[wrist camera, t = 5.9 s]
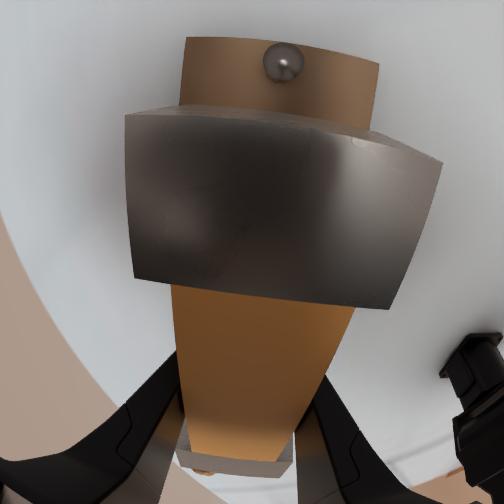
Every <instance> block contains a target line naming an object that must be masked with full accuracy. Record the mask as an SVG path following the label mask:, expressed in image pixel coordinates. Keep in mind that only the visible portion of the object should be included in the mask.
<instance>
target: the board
mask: <svg viewBox="0 0 504 504" xmlns="http://www.w3.org/2000/svg"><path fill="white" fill-rule="evenodd" d="M378 71H379V64H378V63H375V62H372V61H368V60H365V59H361V58H358V57H354V56H350V55H346V54H342V53H338V52H333V51H329V50H324V49H319V48H314V47H309V46H303V45H297V44H291V43H285V42H276V41H268V40H258V39H246V38H229V37H186V43H185V51H184V60H183V69H182V80H181V91H180V103H179V106H181V105H208V106H224V107H236V108H247V109H256V110H264V111H272V112H280V113H287V114H293V115H299V116H305V117H311V118H316V119H322V120H327V121H332V122H337V123H341V124H346V125H350V126H354V127H359V128H363V129H367V130H369V126H370V121H371V115H372V110H373V104H374V98H375V91H376V85H377V78H378Z"/></svg>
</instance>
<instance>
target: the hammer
mask: <svg viewBox="0 0 504 504" xmlns="http://www.w3.org/2000/svg"><path fill="white" fill-rule="evenodd" d="M442 165H443V163H442V162H440V161H438V160H436V159H434V158H432V157H430V156H428V155H426V154H424V153H422V152H420V151H418V150H416V149H414V148H412V147H410V146H408V145H405V144H403V143H401V142H399V141H396V140H394V139H392V138H390V137H387V136H385V135H382V134H380V133H378V132H375V131H371V130H367V129H363V128H359V127H354V126H350V125H346V124H341V123H337V122H332V121H327V120H322V119H316V118H311V117H305V116H299V115H293V114H287V113H280V112H272V111H264V110H256V109H247V108H236V107H224V106H208V105H181V106H174V107H167V108H161V109H155V110H149V111H144V112H139V113H134V114H129V115H125V178H126V199H127V214H128V226H129V237H130V247H131V256H132V264H133V272H134V278H136V279H142V280H148V281H154V282H160V283H166V284H171V295H172V309H173V321H174V331H175V342H176V351H177V360H178V368H179V376H180V383H181V391H182V397H183V404H184V411H185V420H184V423H183V426H182V429H181V432H180V435H179V438H178V442H177V445H176V448H175V452H176V454H177V457H178V460H179V463H180V466H181V467H186V468H191V469H197V470H202V471H209V472H215V473H222V474H230V475H239V476H250V477H264V478H280V477H281V476H282V475H283V473H284V472H285V471H286V470H287V469H288V467H289V466H290V465H291V464H292V463H293V432H294V430H295V429H296V427H297V425H298V424H299V422H300V420H301V418H302V417H303V415H304V413H305V411H306V409H307V408H308V406H309V404H310V402H311V400H312V398H313V397H314V395H315V393H316V391H317V389H318V387H319V385H320V383H321V381H322V379H323V377H324V375H325V373H326V371H327V369H328V367H329V365H330V363H331V361H332V359H333V357H334V355H335V353H336V350H337V348H338V346H339V344H340V342H341V340H342V337H343V335H344V333H345V331H346V328H347V326H348V324H349V321H350V319H351V317H352V314H353V312H354V310H355V307H359V308H371V309H384V310H389V309H390V307H391V305H392V302H393V300H394V298H395V296H396V294H397V292H398V289H399V287H400V285H401V283H402V280H403V278H404V276H405V273H406V271H407V269H408V266H409V264H410V261H411V259H412V256H413V254H414V251H415V249H416V246H417V243H418V241H419V238H420V235H421V233H422V230H423V227H424V224H425V221H426V218H427V215H428V212H429V209H430V206H431V203H432V200H433V197H434V193H435V190H436V187H437V183H438V180H439V176H440V172H441V168H442Z"/></svg>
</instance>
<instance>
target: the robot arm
mask: <svg viewBox="0 0 504 504" xmlns="http://www.w3.org/2000/svg"><path fill="white" fill-rule="evenodd" d="M502 339H503V335H502V334H501V333H497V334H471V335H468V336H467V337H466V338H465V340H464V341H463V343H462V344H461V345H460V347H459V348H458V350H457V351H456V352H455V354H454V355H453V357H452V358H451V359H450V361H449V362H448V363H447V365H446V366H445V367H444V368H443V370H442V371H441V372H440V374H439V376H440V378H450V381H451V383H452V386H453V388H454V391H455V393H456V396H457V398H459V399H460V401H461V404H462V407H463V410H464V412H463V413H461V414H460V415H458V416H456V417H454V418H453V419H452V421H453V432H454V440H455V450H456V456H457V459H459V461H460V463H461V464H462V465H463V466H464V470H465V475H466V482H467V483H468V484H469V485H470V486H471V487H475V486H478V487H480V488H481V489H482V490H484V491H485V492H487V493H488V494H490V495H491V499H492V504H504V359H503V358H502V356H501V354H500V352H499V350H498V349H497V346H498V344H499V343H500V341H501V340H502ZM184 420H185V411H184V404H183V397H182V391H181V383H180V376H179V368H178V360H177V351H175V352H174V353H173V354H172V355H171V356H170V357H169V358H168V359H167V360H166V361H165V362H164V363H163V364H162V365H161V366H160V367H159V368H158V369H157V370H156V371H155V372H154V373H153V374H152V375H151V376H150V377H149V378H148V380H147V381H146V382H145V383H144V384H143V385H142V386H141V387H140V388H139V389H138V390H137V391H136V392H135V393H134V394H133V395H132V396H131V397H130V398H129V399H128V400H127V401H126V403H124V404H123V405H122V406H121V407H120V408H119V409H118V410H117V411H116V412H115V413H114V414H113V415H112V416H111V417H110V418H109V419H107V421H105V422H104V423H103V424H101V425H100V426H99V427H98V428H97V429H95V430H94V431H93V432H91V433H90V434H89V435H87V436H86V437H85V438H83V439H82V440H81V441H79V442H78V443H77V444H75V445H74V446H72V447H71V448H69V449H67V450H65V451H63V452H60V453H57V454H53V455H48V456H43V457H38V458H33V459H27V460H21V461H8V460H5V459H3V458H1V457H0V504H158V503H159V500H160V495H161V493H162V489H163V486H164V483H165V480H166V477H167V473H168V470H169V467H170V464H171V461H172V458H173V454H174V451H175V448H176V445H177V442H178V438H179V435H180V432H181V429H182V426H183V423H184ZM294 433H295V449H296V468H297V489H298V504H442V503H440V502H437V501H435V500H432V499H430V498H427V497H425V496H422V495H420V494H418V493H415V492H413V491H411V490H409V489H408V488H406V487H405V486H404V485H403V484H402V483H401V482H400V481H399V480H398V479H397V478H396V477H395V476H394V474H393V473H392V472H391V471H390V470H389V468H388V467H387V466H386V465H385V464H384V462H383V461H382V460H381V459H380V458H379V456H378V455H377V454H376V452H375V451H374V450H373V449H372V447H371V446H370V444H369V443H368V441H367V440H366V438H365V437H364V435H363V433H362V432H361V430H359V427H358V426H357V424H356V422H355V421H354V419H353V418H352V416H351V414H350V413H349V411H348V410H347V408H346V407H345V405H344V403H343V402H342V400H341V399H340V397H339V395H338V394H337V392H336V391H335V389H334V387H333V386H332V384H331V383H330V381H329V379H328V378H327V376H326V375H324V377H323V379H322V381H321V383H320V385H319V387H318V389H317V391H316V393H315V395H314V397H313V398H312V400H311V402H310V404H309V406H308V408H307V409H306V411H305V413H304V415H303V417H302V418H301V420H300V422H299V424H298V425H297V427H296V429H295V430H294ZM470 504H482V503H480V502H478V501H474V502H472V503H470Z"/></svg>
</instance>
